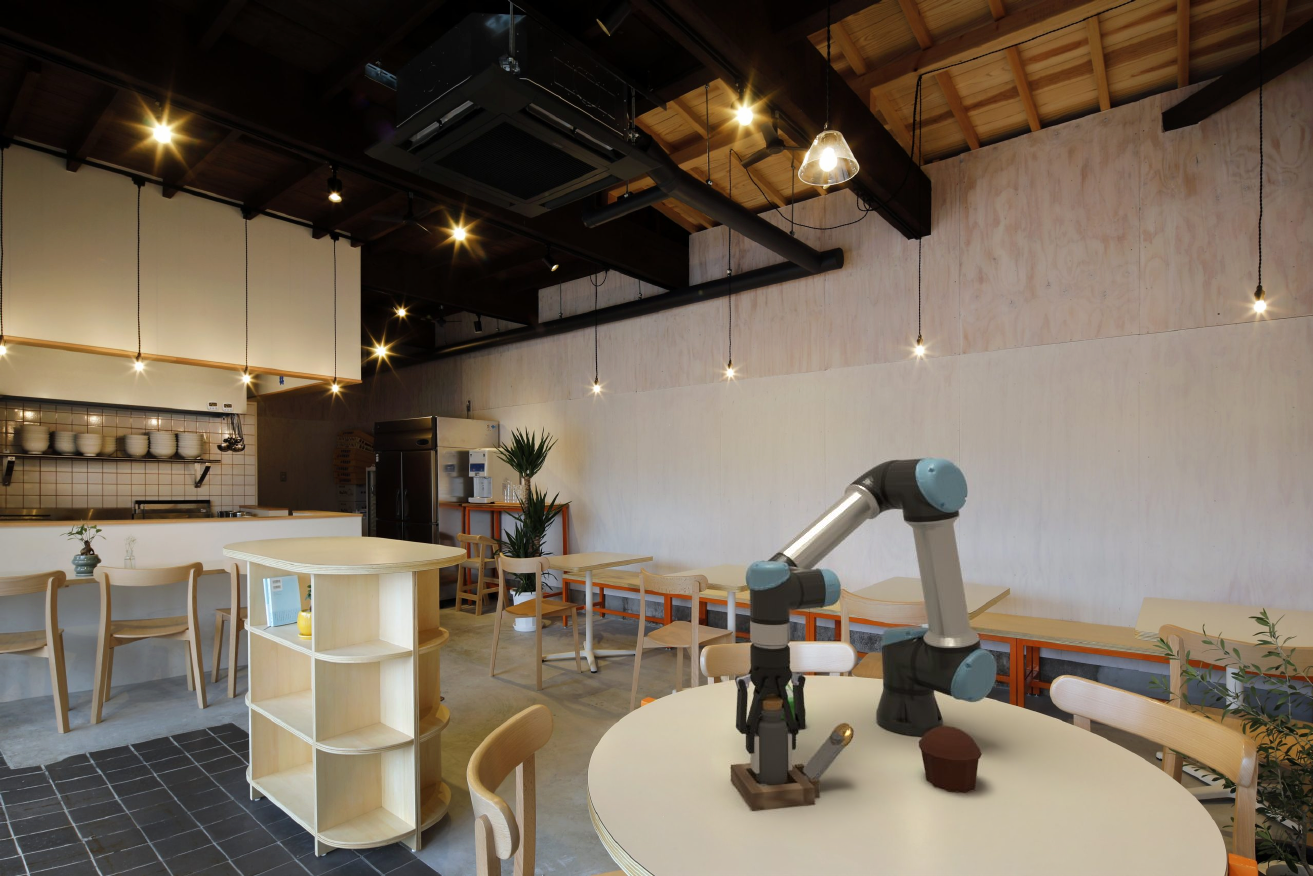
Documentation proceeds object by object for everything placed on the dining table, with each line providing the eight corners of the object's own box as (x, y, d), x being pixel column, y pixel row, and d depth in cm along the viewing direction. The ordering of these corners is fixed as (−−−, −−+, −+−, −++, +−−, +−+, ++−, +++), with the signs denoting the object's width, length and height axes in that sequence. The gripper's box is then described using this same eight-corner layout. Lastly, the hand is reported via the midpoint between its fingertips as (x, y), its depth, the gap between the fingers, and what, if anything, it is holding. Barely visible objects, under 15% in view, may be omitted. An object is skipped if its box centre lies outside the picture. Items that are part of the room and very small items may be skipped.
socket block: (797, 774, 129) (797, 759, 129) (825, 803, 117) (824, 786, 117) (730, 780, 126) (730, 764, 126) (752, 811, 114) (752, 793, 114)
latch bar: (845, 723, 128) (841, 719, 128) (858, 732, 123) (854, 728, 123) (801, 777, 125) (797, 773, 125) (812, 788, 120) (808, 785, 120)
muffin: (934, 764, 134) (932, 715, 134) (991, 782, 126) (989, 729, 127) (909, 783, 125) (908, 730, 126) (969, 802, 118) (967, 746, 118)
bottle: (787, 787, 118) (786, 703, 119) (755, 784, 119) (754, 701, 120) (787, 773, 124) (786, 693, 125) (756, 770, 125) (755, 691, 126)
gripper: (807, 637, 129) (809, 756, 127) (717, 641, 125) (717, 764, 123) (824, 646, 122) (826, 773, 120) (729, 651, 118) (729, 782, 116)
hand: (771, 768), depth 122 cm, fingers closed on bottle, 6 cm apart
